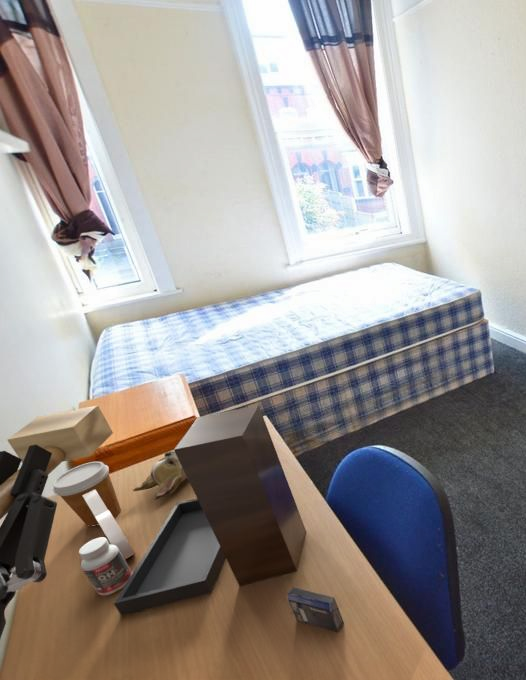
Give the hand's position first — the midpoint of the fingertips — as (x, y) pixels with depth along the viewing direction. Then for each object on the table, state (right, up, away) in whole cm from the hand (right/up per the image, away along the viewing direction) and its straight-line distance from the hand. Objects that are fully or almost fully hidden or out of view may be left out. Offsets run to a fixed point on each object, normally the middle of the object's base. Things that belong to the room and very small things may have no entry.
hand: (25, 452), depth 61 cm
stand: (+18, -27, +29) cm, 43 cm away
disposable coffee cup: (-30, -26, +46) cm, 60 cm away
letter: (-20, -28, +38) cm, 51 cm away
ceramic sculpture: (-19, -21, +55) cm, 62 cm away
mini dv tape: (+32, -31, +15) cm, 47 cm away
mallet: (+1, -4, +1) cm, 4 cm away
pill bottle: (-11, -31, +27) cm, 43 cm away
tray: (-1, -27, +33) cm, 43 cm away
